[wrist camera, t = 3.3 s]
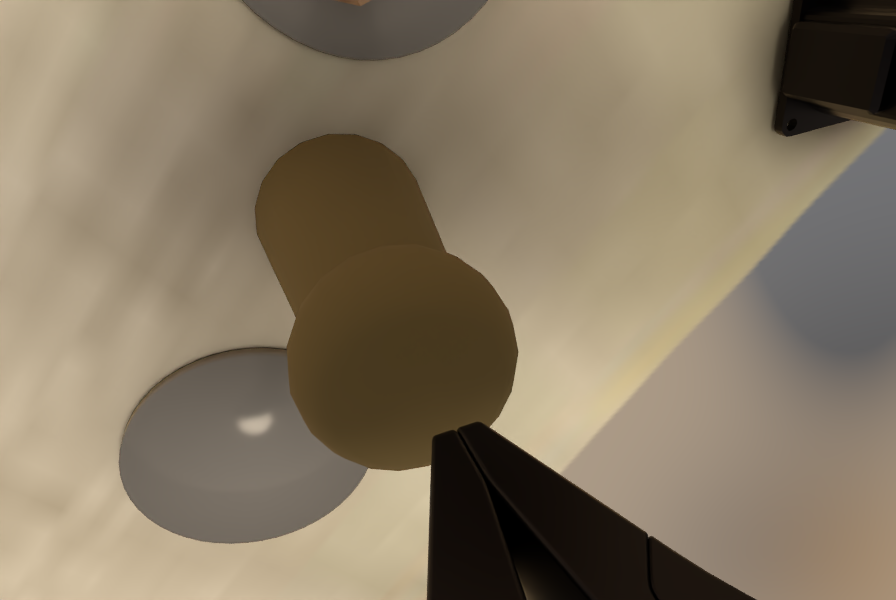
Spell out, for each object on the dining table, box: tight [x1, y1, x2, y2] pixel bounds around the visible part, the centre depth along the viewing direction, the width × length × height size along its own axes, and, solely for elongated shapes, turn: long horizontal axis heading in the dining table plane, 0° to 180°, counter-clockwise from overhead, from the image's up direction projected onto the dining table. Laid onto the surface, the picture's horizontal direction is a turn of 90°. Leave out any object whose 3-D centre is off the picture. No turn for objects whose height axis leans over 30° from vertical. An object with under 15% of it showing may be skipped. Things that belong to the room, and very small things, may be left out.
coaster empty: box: [119, 348, 368, 544], centre depth 24 cm, size 10×10×1 cm
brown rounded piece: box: [255, 134, 518, 471], centre depth 16 cm, size 6×6×11 cm
